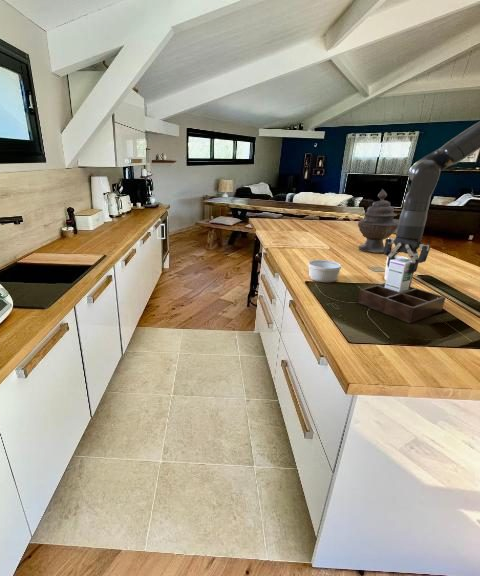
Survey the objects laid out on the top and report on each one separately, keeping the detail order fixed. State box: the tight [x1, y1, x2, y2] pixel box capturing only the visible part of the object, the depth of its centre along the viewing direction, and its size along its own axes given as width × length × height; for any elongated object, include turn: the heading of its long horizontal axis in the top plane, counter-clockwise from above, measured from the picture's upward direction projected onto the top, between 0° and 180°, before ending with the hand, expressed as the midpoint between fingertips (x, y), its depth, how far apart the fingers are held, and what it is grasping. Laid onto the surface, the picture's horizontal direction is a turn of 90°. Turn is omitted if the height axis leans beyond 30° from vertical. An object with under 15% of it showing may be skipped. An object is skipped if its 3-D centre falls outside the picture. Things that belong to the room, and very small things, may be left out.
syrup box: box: [384, 258, 414, 293], centre depth 113 cm, size 6×6×14 cm
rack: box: [357, 282, 447, 324], centre depth 109 cm, size 18×18×5 cm
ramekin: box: [307, 259, 342, 283], centre depth 138 cm, size 13×13×7 cm
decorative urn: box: [357, 188, 399, 254], centre depth 178 cm, size 20×20×35 cm
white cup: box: [383, 255, 410, 281], centre depth 134 cm, size 8×8×10 cm
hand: (400, 270), depth 112 cm, fingers open, 7 cm apart
